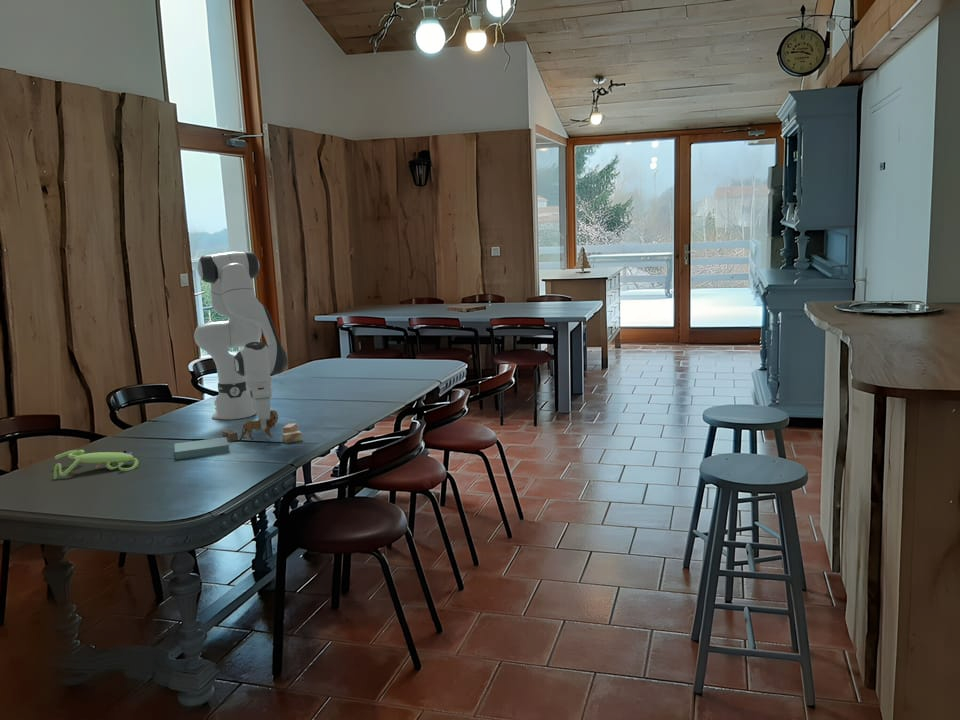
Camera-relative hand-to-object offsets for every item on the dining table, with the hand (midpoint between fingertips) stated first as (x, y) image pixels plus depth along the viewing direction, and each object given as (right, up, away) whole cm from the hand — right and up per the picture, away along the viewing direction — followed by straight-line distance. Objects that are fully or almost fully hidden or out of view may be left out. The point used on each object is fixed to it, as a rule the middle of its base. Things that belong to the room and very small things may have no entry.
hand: (262, 426), depth 277 cm
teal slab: (-18, -7, -11) cm, 22 cm away
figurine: (-47, -12, -25) cm, 55 cm away
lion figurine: (-1, -4, +1) cm, 4 cm away
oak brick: (+11, -5, -2) cm, 12 cm away
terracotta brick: (+8, -3, +9) cm, 12 cm away
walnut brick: (-13, -5, +4) cm, 14 cm away
